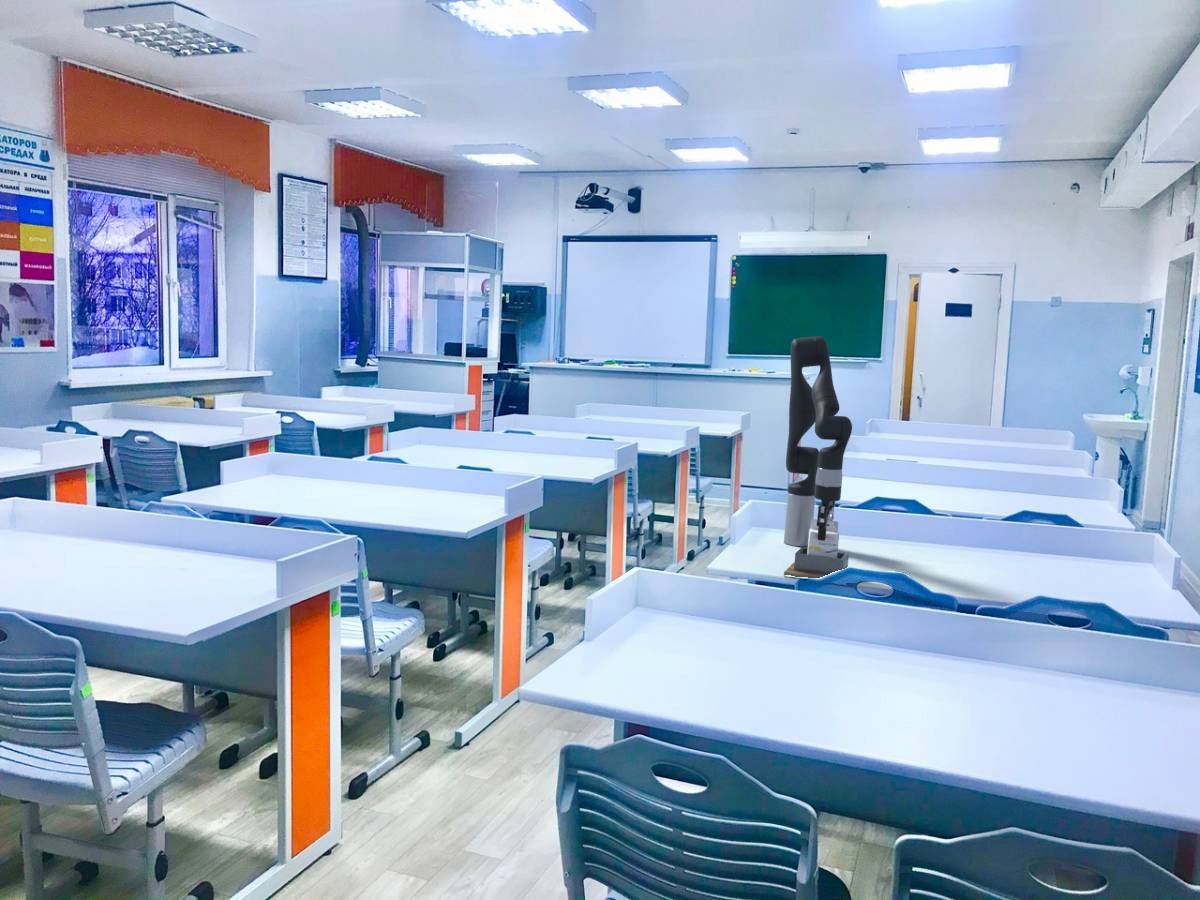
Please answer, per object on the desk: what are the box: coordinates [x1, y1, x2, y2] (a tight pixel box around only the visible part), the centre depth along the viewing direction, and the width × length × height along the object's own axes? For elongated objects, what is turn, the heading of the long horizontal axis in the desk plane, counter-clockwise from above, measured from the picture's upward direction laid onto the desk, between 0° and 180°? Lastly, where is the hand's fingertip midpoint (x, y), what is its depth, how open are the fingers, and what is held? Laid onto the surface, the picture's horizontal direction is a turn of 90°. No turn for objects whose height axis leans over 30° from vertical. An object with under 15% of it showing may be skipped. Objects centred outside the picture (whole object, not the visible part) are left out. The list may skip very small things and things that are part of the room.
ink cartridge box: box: [807, 518, 840, 558], centre depth 288 cm, size 9×5×15 cm, turn 80°
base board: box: [783, 561, 825, 578], centre depth 289 cm, size 18×18×2 cm
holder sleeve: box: [793, 546, 850, 575], centre depth 288 cm, size 10×14×5 cm
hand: (823, 537), depth 288 cm, fingers open, 8 cm apart
